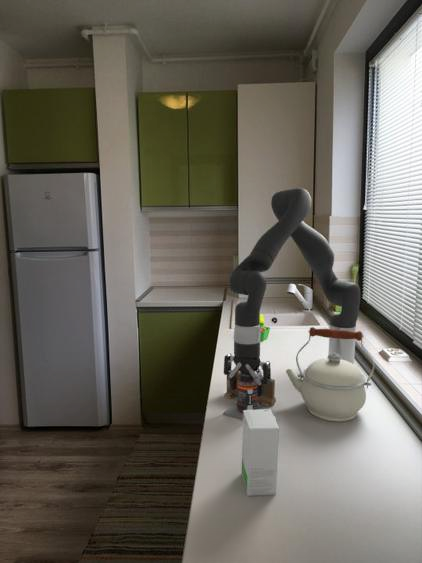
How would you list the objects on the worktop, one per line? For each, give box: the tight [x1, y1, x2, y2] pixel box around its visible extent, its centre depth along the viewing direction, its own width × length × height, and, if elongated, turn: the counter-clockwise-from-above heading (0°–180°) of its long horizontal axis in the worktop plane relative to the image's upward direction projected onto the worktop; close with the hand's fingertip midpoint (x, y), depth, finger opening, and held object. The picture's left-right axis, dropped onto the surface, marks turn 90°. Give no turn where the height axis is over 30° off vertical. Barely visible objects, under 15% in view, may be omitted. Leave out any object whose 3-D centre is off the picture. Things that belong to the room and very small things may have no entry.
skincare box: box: [240, 408, 280, 497], centre depth 91 cm, size 8×7×16 cm
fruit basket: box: [260, 313, 271, 342], centre depth 196 cm, size 11×9×11 cm
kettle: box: [284, 326, 375, 422], centre depth 124 cm, size 25×18×25 cm
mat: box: [222, 401, 270, 421], centre depth 125 cm, size 10×10×1 cm
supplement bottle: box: [236, 373, 258, 413], centre depth 124 cm, size 6×6×11 cm
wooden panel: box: [224, 369, 277, 408], centre depth 133 cm, size 6×16×8 cm, turn 57°
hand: (246, 392), depth 124 cm, fingers open, 8 cm apart
